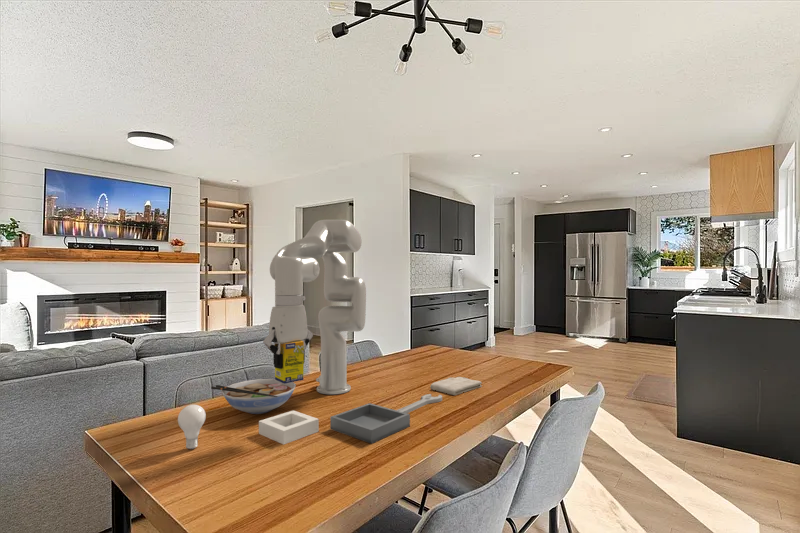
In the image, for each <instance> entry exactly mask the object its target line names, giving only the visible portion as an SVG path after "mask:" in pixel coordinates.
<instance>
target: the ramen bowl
mask: <svg viewBox="0 0 800 533" xmlns="http://www.w3.org/2000/svg"><path fill="white" fill-rule="evenodd" d="M296 386H297V384H296V382H290V383H286V384H284V383H282V382H280V381H277V380H275V378H258V379H249V380H244V381H240V382H235V383H232V384H230V385H228V386H225V385H219V384H217V385H215V386H210V388H211V389H212V390H217V391H220V392H221V393H222V396H223V397H224V398H225V400H226V402H227V403H228V404H229V405H230V406H231V407H232V408H233V409H236V410H238V411H241V412H243V413H244V412H245V413H248V414H251V415H261V414H266V413H269V412H271V411H272V410H275V409H277V408H280V406H282V405H284V404H285V403H286V402H288V401H289V399H290V398H291V397H292V395H293V392H294V391H295V389H296Z"/></svg>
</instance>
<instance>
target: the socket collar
mask: <svg viewBox="0 0 800 533" xmlns="http://www.w3.org/2000/svg"><path fill="white" fill-rule="evenodd" d="M319 420H320V419H319V418H317V417H314V416H312V415H307V414H305V413H302V412H299V411H297V410H290V411H287V412H284V413H280V414H277V415H274V416H271V417H267V418H265V419H261V420H258V434H259V435H260V436H263V437H266V438H268V439H270V440H272V441H275V442H276V443H279V444H281V445H286V444H288V443H292V442H294V441H297V440H300V439H302V438H305V437H307V436H310V435H313V434H316V433H318V432H320V431H319V430H320V427H319V426H320V424H319Z"/></svg>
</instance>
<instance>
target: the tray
mask: <svg viewBox="0 0 800 533" xmlns="http://www.w3.org/2000/svg"><path fill="white" fill-rule="evenodd" d="M397 410H398V409H392V408H389V407H386V406H381V405H377V404H374V403H371V402H370V403H366V404H364V405H360V406H358V407H354V408H352V409H349V410H346V411H343V412H341V413H337V414H334V415H331V416H330V430H331V431H334V432H338V433H339V434H343V435H346V436H349V437H351V438H355V439H357V440H359V441H363V442H366V443H369V444H371V445H372V444H374V443H376V442H379V441H381V440H383V439H385V438H387V437H390V436H392V435H394V434H396V433H398V432H400V431H403V430H404V429H407V428H409V427H411V414H410V413H404V412H400V411H397Z"/></svg>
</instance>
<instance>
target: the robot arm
mask: <svg viewBox="0 0 800 533" xmlns="http://www.w3.org/2000/svg"><path fill="white" fill-rule="evenodd" d="M361 248H362V236H361V233H360V231H359V230H358V229H357V228H356V226H355V225H354V224H353V223H352V222H351V221H349V220H347V219H344V218H343V219H320V220H317V221H316V222H314V223H313V224H312V226H311V228H310V229H309V230H308V231H307V233H306V234H305V236H304V237H302V238H300V239H297V240H296V241H293V242H291V243H288V244H287V245H284V246H283V247H281V248H280V249H279V250H278V251H277V252H276V254H275V255H274V256H273V257H272V259H271V262H270V265H269V274H270V276H271V278H272V279H273V280H274V306H272V307H271V311H270V317H269V325H268V326H269V328H268V334H267V335H266V337H265V338H264V340H263V341H262V342H263V344H264V345H265V346H266V347H267V349H269V351H271V353H272V354H273V355H272V356H273V357H272V358H273V360H272V361H273V367H274V369H275V368H279V369H282V368H283V354H281V351H282V348H283V343H289V342H295V341H303V342H304V360H305V358H306V357H305V352H306V351H305V350H306V349H307V346H308V345H309V343H310V341H311V339H312V338H313V336H314V333H313V332H312V331H311V330H310V329H309V328H308V318H307V312H306V307H305V305H304V301H306V296H305V295H304V290H303V289H304V285H303V283H310V282H313V281H315V280H316V279H317V278H318V277H319V275H320V271H321V270H320V269H321V267H320V264H319V261H318V259H321V258H322V260H323V265H324V273H323V274H324V281H323V295H324V296H323V297H324V299H325V301H327V302H332V303H352V305H327V306H324V307H322V308H321V309H320V310H319V312H318V316H317V317H318V324H319V325H318V326H319V331H320V332H319V333H320V375H319V376H318V377H316V379H315V381H316V382H317V383H319V385H318V386H317V387H316V392H317V393H319V394H322V395H340V394H341V395H342V394H346V393H348V392H350V391H351V387H352V386H351V385H350V384H349V383H348V382H347V376H348V375H347V368H348V367H347V363H348V362H347V359H348V358H347V356H348V355H347V354H348V353H347V349H348V348H347V341H346V338H345V337H344V335H343V333H341V332H349V333H351V332H353V333H356V332H361V331H363V329H364V328H365V324H366V315H367V314H366V308H367V306H366V305H367V303H366V302H367V301H366V300H367V286H366V282H365V280H364V279H363V278H361V277H358V276H348V263H347V262H346V260H345V259H344V257H343V256H342V254H340V253H346V254H347V253H348V254H349V253H350V254H351V253H357V252H358V251H360V249H361Z"/></svg>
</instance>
